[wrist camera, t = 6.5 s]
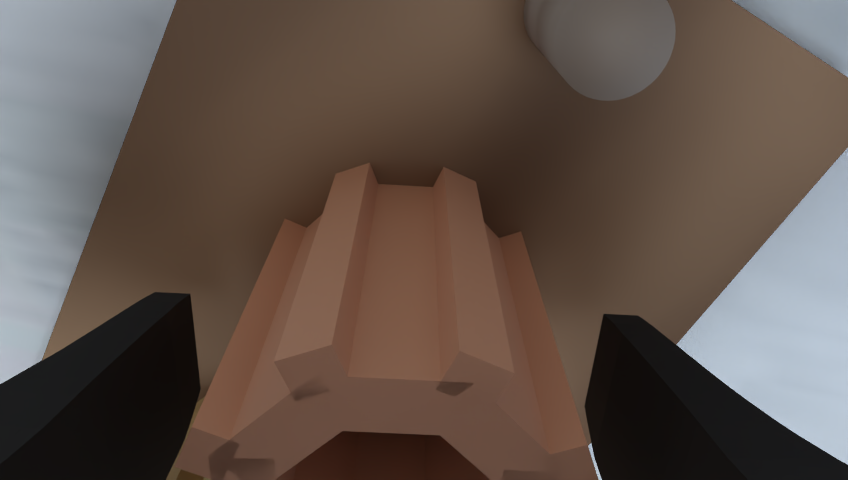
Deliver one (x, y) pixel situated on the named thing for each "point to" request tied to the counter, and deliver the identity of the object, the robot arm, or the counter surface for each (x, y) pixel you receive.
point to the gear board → (465, 150)
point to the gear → (392, 351)
